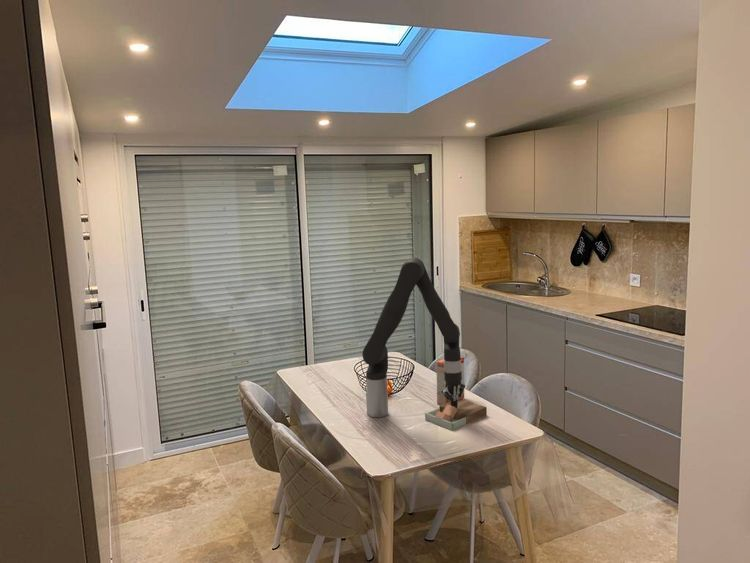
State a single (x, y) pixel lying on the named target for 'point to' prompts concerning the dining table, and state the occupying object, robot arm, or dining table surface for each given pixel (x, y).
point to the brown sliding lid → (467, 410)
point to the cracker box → (441, 382)
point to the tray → (450, 424)
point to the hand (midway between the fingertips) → (454, 408)
